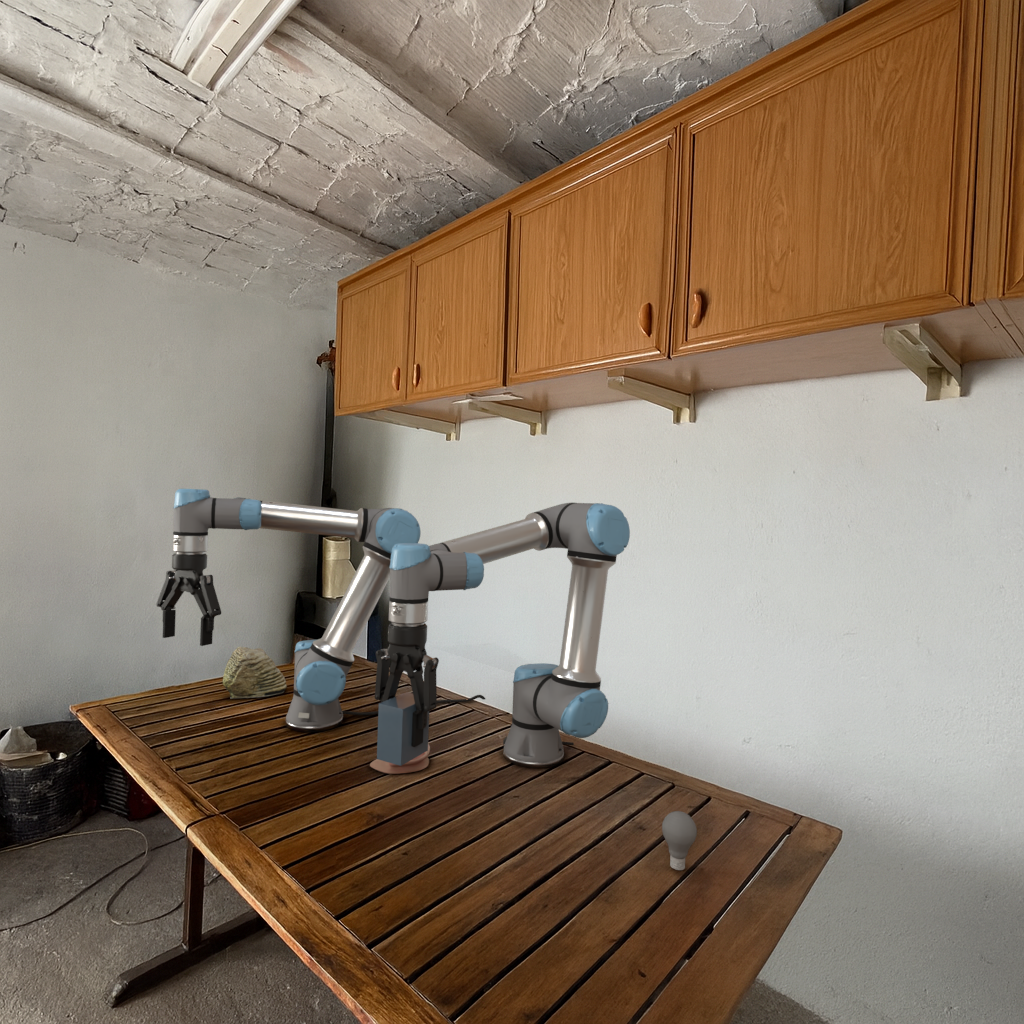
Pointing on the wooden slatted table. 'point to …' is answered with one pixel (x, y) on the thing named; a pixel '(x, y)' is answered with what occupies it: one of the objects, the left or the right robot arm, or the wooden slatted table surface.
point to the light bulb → (679, 837)
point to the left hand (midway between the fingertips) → (187, 640)
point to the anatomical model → (410, 766)
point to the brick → (398, 730)
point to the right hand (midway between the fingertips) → (403, 740)
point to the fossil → (252, 674)
